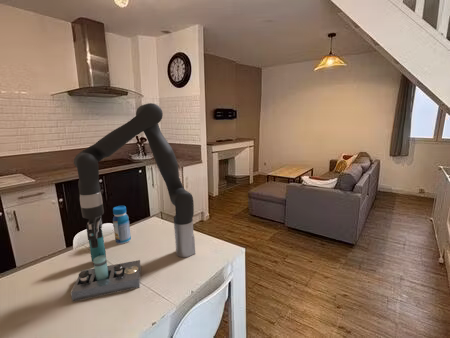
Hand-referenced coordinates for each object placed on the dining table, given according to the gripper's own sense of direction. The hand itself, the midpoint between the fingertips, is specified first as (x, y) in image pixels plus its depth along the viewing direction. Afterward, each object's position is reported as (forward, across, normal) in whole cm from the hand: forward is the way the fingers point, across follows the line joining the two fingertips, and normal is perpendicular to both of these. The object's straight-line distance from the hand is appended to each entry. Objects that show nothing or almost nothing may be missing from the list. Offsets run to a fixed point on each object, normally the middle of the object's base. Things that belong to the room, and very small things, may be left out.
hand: (97, 242), depth 96 cm
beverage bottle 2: (+19, +38, -4) cm, 43 cm away
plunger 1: (+17, 0, +7) cm, 18 cm away
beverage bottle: (+19, +19, +5) cm, 28 cm away
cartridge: (+19, 0, 0) cm, 19 cm away
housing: (+19, 0, -2) cm, 19 cm away
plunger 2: (+17, 0, -7) cm, 18 cm away
